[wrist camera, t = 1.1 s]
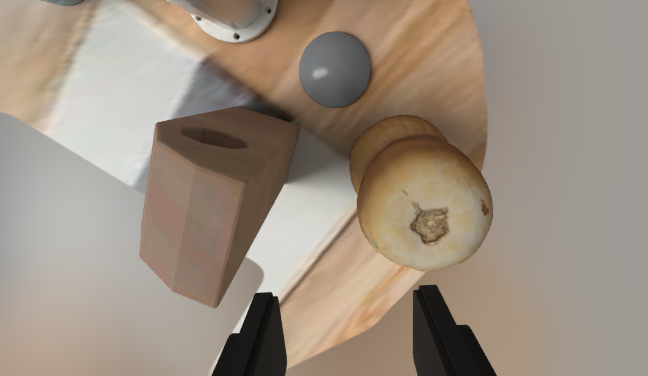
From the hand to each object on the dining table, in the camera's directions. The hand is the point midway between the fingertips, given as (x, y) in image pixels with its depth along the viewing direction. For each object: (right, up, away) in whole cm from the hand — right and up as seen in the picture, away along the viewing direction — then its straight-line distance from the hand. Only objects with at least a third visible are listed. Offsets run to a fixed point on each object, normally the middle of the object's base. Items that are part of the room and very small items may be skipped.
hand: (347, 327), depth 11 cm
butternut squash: (+10, +9, +38) cm, 40 cm away
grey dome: (+1, +22, +34) cm, 41 cm away
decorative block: (-10, +11, +38) cm, 41 cm away
